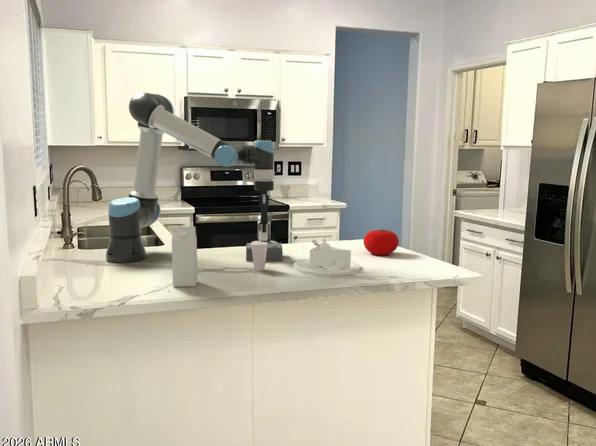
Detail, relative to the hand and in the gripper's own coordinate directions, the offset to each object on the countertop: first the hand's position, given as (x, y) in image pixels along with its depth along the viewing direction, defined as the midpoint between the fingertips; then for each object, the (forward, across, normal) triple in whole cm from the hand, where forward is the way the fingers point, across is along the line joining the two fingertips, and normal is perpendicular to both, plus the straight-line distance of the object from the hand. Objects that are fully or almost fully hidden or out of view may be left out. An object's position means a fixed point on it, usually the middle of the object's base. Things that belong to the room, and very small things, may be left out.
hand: (264, 238), depth 220 cm
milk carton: (+8, -39, +26) cm, 47 cm away
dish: (+8, -17, -23) cm, 30 cm away
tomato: (+8, +6, -48) cm, 49 cm away
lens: (+1, 0, 0) cm, 1 cm away
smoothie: (+8, -19, +2) cm, 21 cm away
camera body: (+8, 0, 0) cm, 8 cm away
